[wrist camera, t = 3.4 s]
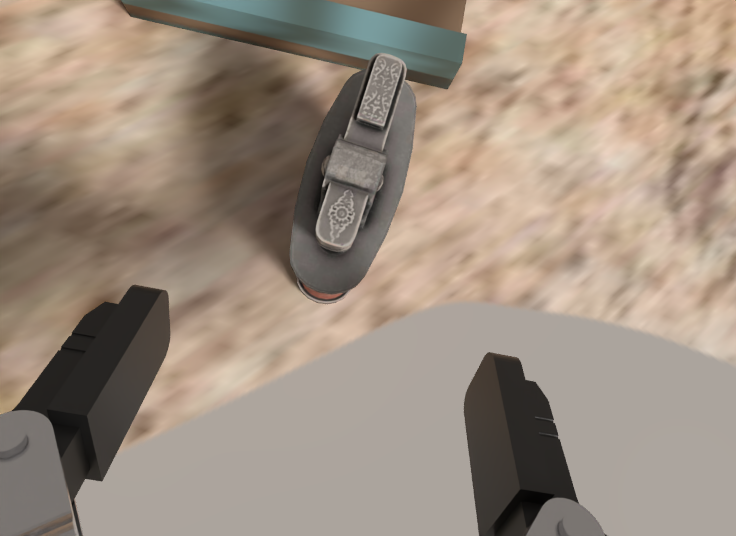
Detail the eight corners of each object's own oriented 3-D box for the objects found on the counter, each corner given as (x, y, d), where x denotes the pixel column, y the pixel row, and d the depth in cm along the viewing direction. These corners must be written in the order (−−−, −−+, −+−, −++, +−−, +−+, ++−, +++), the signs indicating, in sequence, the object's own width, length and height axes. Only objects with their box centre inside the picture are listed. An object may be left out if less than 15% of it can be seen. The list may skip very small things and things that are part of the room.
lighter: (351, 313, 23) (378, 302, 14) (282, 292, 23) (260, 265, 13) (398, 158, 25) (454, 45, 15) (333, 137, 24) (347, 7, 15)
